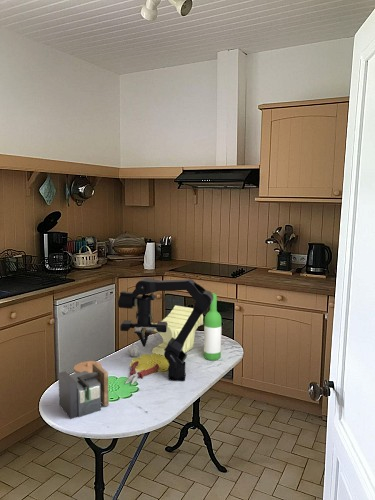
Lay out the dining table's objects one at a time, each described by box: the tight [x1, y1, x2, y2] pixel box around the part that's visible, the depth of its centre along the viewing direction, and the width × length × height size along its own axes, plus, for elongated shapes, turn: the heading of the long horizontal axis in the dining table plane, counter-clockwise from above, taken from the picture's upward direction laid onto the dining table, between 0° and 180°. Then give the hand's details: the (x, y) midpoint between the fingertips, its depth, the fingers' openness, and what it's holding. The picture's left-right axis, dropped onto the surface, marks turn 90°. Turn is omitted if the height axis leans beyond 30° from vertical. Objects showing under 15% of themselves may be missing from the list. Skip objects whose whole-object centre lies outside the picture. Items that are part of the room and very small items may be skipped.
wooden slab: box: [77, 363, 109, 407], centre depth 148 cm, size 9×12×12 cm
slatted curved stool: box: [151, 305, 204, 356], centre depth 198 cm, size 30×16×18 cm, turn 152°
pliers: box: [124, 360, 160, 386], centre depth 173 cm, size 12×20×3 cm, turn 163°
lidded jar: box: [73, 360, 103, 374], centre depth 163 cm, size 11×11×9 cm
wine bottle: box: [203, 292, 222, 361], centre depth 190 cm, size 8×8×30 cm
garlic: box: [127, 343, 141, 358], centre depth 193 cm, size 6×5×5 cm
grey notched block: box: [58, 371, 102, 420], centre depth 146 cm, size 10×12×12 cm
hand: (144, 346), depth 173 cm, fingers closed
